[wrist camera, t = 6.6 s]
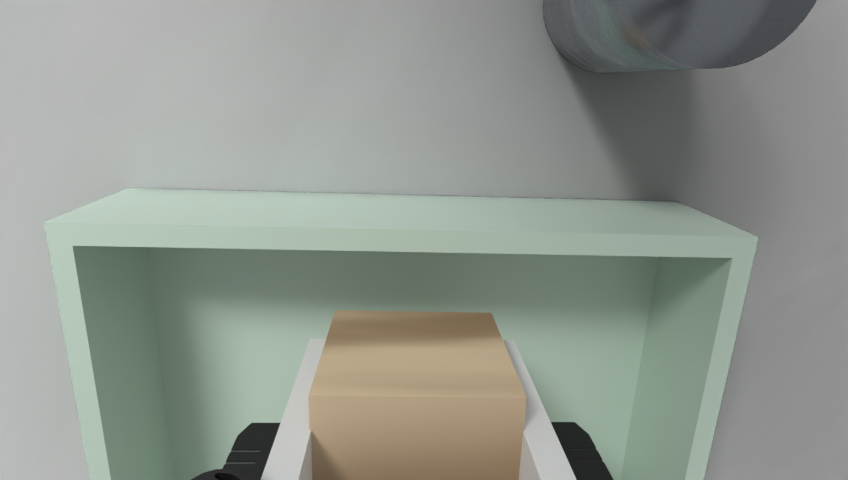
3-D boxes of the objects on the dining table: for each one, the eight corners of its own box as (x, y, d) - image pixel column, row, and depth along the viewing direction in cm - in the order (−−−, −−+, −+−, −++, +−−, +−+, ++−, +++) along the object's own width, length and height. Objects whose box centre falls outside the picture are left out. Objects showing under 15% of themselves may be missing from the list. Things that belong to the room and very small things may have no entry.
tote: (128, 187, 20) (43, 221, 15) (677, 201, 21) (758, 237, 16) (174, 550, 25) (121, 661, 20) (616, 544, 26) (665, 648, 21)
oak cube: (335, 310, 17) (308, 396, 12) (491, 312, 17) (526, 397, 12) (336, 446, 18) (312, 573, 13) (481, 446, 18) (510, 571, 13)
